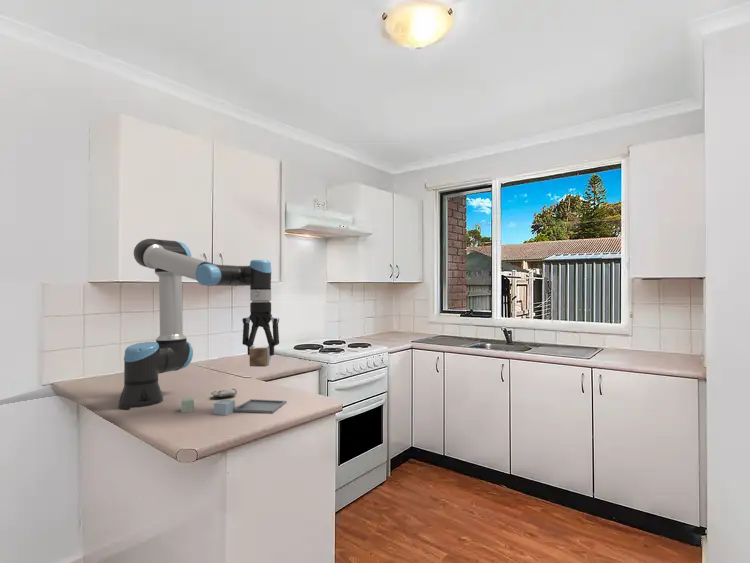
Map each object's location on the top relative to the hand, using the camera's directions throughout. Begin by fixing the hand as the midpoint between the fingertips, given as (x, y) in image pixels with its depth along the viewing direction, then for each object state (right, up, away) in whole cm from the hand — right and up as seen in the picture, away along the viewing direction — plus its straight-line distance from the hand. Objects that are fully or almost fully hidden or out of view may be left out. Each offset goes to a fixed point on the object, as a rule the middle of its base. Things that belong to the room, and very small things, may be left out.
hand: (260, 364), depth 162 cm
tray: (0, -16, 0) cm, 16 cm away
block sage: (-26, -16, -3) cm, 31 cm away
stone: (-15, -16, +14) cm, 26 cm away
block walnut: (0, 0, 0) cm, 0 cm away
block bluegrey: (-11, -16, -6) cm, 21 cm away
